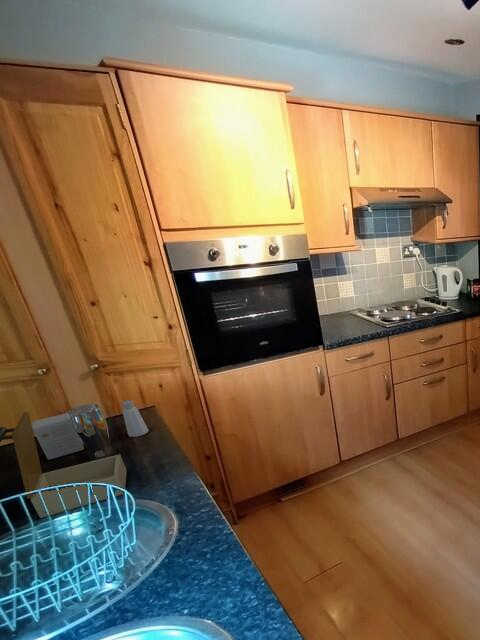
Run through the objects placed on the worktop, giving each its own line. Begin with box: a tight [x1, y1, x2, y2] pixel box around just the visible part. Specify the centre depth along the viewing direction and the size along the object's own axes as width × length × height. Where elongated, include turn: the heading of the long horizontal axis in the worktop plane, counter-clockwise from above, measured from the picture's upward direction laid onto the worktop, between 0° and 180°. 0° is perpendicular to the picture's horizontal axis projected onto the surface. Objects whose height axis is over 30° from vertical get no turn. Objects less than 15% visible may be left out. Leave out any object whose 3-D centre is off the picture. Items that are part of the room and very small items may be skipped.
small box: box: [31, 412, 85, 461], centre depth 130 cm, size 8×6×10 cm
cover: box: [0, 411, 43, 499], centre depth 104 cm, size 16×13×5 cm
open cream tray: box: [30, 453, 127, 519], centre depth 113 cm, size 16×13×5 cm
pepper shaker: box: [120, 399, 150, 438], centre depth 140 cm, size 5×5×11 cm
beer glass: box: [67, 403, 118, 461], centre depth 127 cm, size 7×7×15 cm
